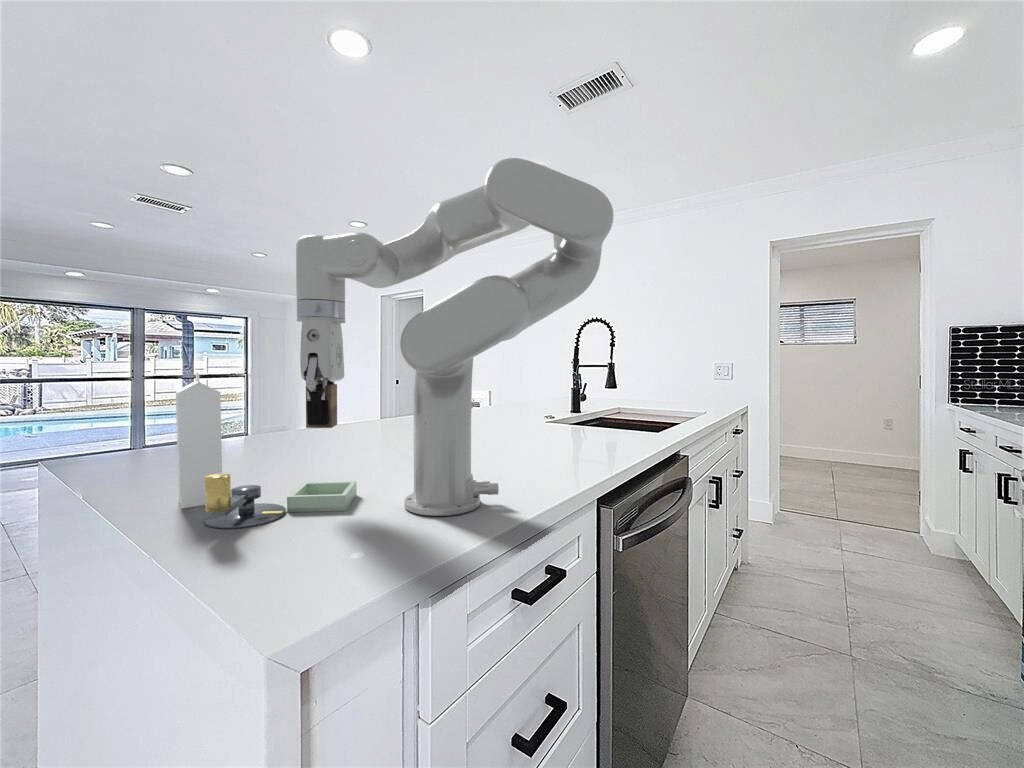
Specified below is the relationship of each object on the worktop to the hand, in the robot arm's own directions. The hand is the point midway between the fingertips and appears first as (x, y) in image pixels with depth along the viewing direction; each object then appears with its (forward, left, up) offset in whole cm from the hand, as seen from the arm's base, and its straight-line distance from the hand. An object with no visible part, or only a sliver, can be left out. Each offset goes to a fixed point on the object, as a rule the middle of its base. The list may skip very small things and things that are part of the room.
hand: (322, 421), depth 82 cm
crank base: (+10, +6, -14) cm, 18 cm away
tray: (0, 0, -14) cm, 14 cm away
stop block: (0, 0, -1) cm, 1 cm away
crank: (+10, +10, -11) cm, 18 cm away
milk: (+21, -3, -14) cm, 25 cm away
